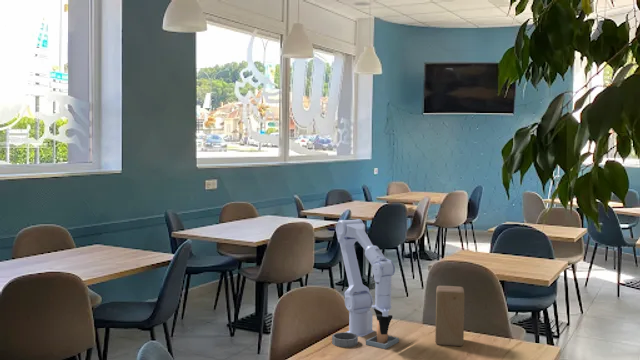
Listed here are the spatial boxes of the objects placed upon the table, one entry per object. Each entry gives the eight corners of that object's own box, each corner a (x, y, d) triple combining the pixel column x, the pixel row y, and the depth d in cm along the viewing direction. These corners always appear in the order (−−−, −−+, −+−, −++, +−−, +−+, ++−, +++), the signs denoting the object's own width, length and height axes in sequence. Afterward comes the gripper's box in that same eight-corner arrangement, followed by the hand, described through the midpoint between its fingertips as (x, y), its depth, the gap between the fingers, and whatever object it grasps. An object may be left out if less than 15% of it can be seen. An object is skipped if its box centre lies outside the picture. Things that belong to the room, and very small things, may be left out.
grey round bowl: (341, 338, 229) (341, 330, 229) (362, 343, 223) (362, 335, 223) (327, 345, 221) (327, 336, 221) (348, 350, 216) (348, 341, 216)
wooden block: (463, 347, 221) (464, 292, 220) (435, 345, 223) (436, 290, 222) (462, 338, 230) (463, 286, 229) (435, 336, 232) (436, 284, 231)
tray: (379, 339, 229) (379, 333, 229) (398, 343, 224) (398, 337, 224) (365, 345, 221) (365, 340, 221) (385, 350, 216) (385, 344, 216)
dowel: (379, 340, 225) (380, 319, 225) (389, 342, 223) (390, 320, 222) (374, 343, 222) (374, 321, 221) (384, 345, 220) (384, 323, 219)
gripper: (370, 289, 229) (369, 325, 229) (374, 298, 214) (373, 337, 215) (389, 289, 229) (388, 325, 229) (394, 298, 214) (393, 337, 215)
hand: (382, 331), depth 222 cm, fingers open, 7 cm apart
